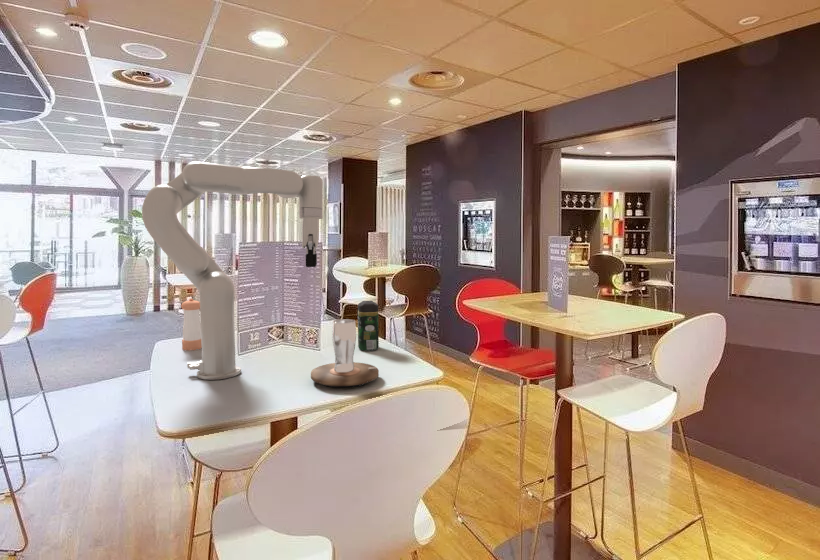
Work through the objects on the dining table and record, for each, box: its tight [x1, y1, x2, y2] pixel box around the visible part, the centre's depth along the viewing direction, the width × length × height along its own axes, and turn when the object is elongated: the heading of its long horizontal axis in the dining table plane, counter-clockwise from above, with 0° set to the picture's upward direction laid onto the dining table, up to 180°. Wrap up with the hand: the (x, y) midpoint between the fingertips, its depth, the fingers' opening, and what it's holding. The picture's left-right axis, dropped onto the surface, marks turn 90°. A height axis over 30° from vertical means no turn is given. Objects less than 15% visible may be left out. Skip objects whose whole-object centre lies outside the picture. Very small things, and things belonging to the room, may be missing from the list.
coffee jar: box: [357, 300, 380, 352], centre depth 173 cm, size 10×8×19 cm
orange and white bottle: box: [180, 298, 202, 351], centre depth 172 cm, size 7×7×19 cm
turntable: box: [310, 361, 380, 386], centre depth 135 cm, size 20×20×2 cm
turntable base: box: [322, 383, 367, 389], centre depth 135 cm, size 14×14×2 cm
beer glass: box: [331, 318, 357, 374], centre depth 134 cm, size 7×7×15 cm
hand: (311, 266), depth 150 cm, fingers open, 9 cm apart
